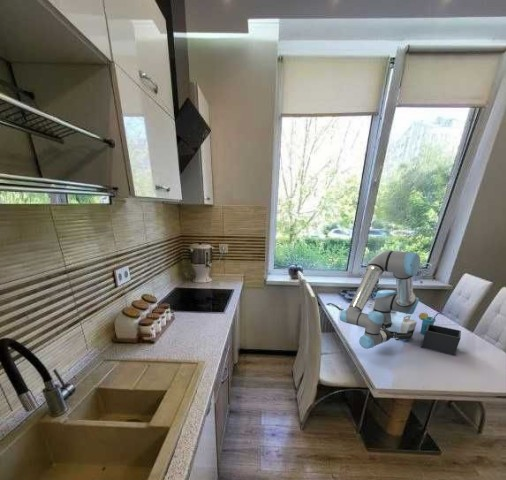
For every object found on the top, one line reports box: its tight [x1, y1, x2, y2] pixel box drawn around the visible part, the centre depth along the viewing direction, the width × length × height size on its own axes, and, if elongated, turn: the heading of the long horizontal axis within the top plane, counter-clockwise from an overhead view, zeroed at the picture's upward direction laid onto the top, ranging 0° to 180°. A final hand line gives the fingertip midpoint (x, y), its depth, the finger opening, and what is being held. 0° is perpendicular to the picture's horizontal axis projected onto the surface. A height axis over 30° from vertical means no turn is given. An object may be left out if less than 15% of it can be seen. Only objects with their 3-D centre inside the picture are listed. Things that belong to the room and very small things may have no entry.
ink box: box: [398, 314, 418, 342], centre depth 170 cm, size 8×5×15 cm, turn 123°
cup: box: [418, 312, 445, 336], centre depth 179 cm, size 14×8×15 cm, turn 84°
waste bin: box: [420, 324, 462, 356], centre depth 161 cm, size 17×13×11 cm
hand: (401, 328), depth 165 cm, fingers open, 13 cm apart
